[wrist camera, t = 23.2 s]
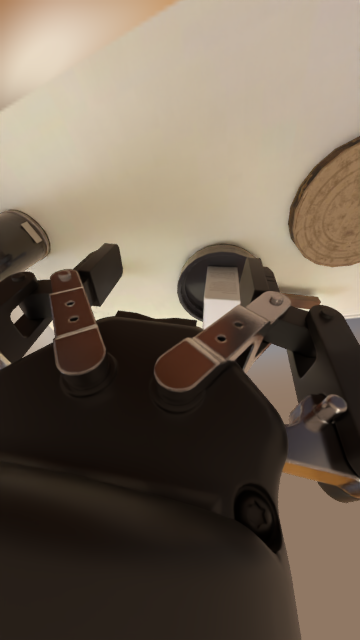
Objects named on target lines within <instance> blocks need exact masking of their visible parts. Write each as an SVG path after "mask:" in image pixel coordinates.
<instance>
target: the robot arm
mask: <svg viewBox="0 0 360 640" xmlns="http://www.w3.org/2000/svg"><path fill="white" fill-rule="evenodd" d="M49 250H50V245H49V241H48V238H47V236H46V234H45V232H44V231H43V229H42V228H41V227H40V226H39V224H38V223H37V222H35V221H34V220H33V219H32V218H31V217H29V216H28V215H26V214H24V213H22V212H19V211H16V210H7V211H4V212H2V213H0V640H301V634H300V628H299V622H298V615H297V609H296V602H295V596H294V590H293V583H292V577H291V571H290V566H289V561H288V556H287V551H286V547H285V543H284V538H283V534H282V529H281V525H280V519H279V512H278V490H279V482H280V477H281V473H282V472H283V473H287V474H291V475H295V476H299V477H303V478H307V479H310V480H314V481H317V482H318V484H319V485H320V486H321V488H322V489H323V490H324V491H325V492H326V493H327V494H328V495H329V496H330V497H332V498H334V499H335V500H337V501H339V502H344V503H348V502H353V501H358V500H360V345H359V343H358V342H357V340H356V338H355V336H354V335H353V333H352V331H351V329H350V327H349V326H348V324H347V322H346V320H345V319H344V317H343V315H342V314H341V313H339V312H338V311H337V310H335V309H333V308H331V307H328V306H323V305H315V306H312V307H311V308H310V310H309V312H308V311H305V310H301V309H298V308H295V307H293V306H291V304H292V303H291V300H290V299H289V297H287V296H286V295H284V294H282V293H280V291H279V288H278V285H277V282H276V280H275V277H274V274H273V272H272V271H271V270H270V269H269V268H268V267H263V266H262V263H261V259H260V258H252V257H247V258H246V261H245V265H244V269H243V272H242V276H241V280H240V285H239V293H240V302H241V305H240V304H239V305H237V306H236V307H234V308H233V309H231V310H230V311H229V312H227V313H226V314H225V315H223V316H222V317H221V318H219V319H218V320H217V321H215V322H214V323H212V324H211V325H210V326H208V327H207V328H206V329H202V328H200V327H197V326H196V323H197V320H189V319H181V318H168V319H153V318H150V317H147V316H144V315H141V314H138V313H133V312H125V311H118V312H117V314H116V315H115V316H112V317H106V318H102V319H99V320H95V317H94V315H93V312H92V309H91V306H99V307H100V306H101V305H102V304H103V302H104V301H105V299H106V298H107V296H108V295H109V293H110V292H111V291H112V289H113V288H114V286H115V285H116V283H117V282H118V281H119V279H120V278H121V276H122V272H123V267H122V262H121V256H120V250H119V247H118V245H117V244H108V243H105V244H103V245H102V246H101V247H100V248H99V249H98V250H96V251H94V252H92V253H90V254H89V255H88V256H87V257H86V258H85V259H84V260H82V261H81V262H80V263H79V264H78V265H77V266H76V267H75V268H74V269H64V270H60V271H57V272H55V273H53V274H52V275H51V277H50V280H37V279H36V277H35V275H34V274H33V273H32V272H24V271H25V270H26V269H28V268H29V267H31V266H32V265H34V264H35V263H36V262H38V261H39V260H41V259H43V258H45V257H46V256H47V255H48V253H49ZM18 305H19V307H20V308H21V310H22V311H23V313H24V314H23V315H22V316H21V317H20V318H19V319H18V320H17V321H16V323H15V324H13V322H12V321H11V318H10V315H11V312H12V311H13V309H15V308H16V306H18ZM52 320H53V326H54V333H55V338H54V339H53V343H51V344H49V345H47V346H45V347H43V348H41V349H39V350H37V351H35V352H33V353H31V354H29V355H27V356H25V357H24V358H22V357H23V356H24V355H25V353H26V352H27V351H28V350H29V349H30V347H31V346H32V345H33V344H34V342H35V341H36V340H37V338H38V337H39V336H40V335H41V334H42V332H43V331H44V330H45V329H46V327H47V326H48V325H49V324H50V322H51V321H52ZM271 343H272V344H274V345H277V346H280V347H282V348H285V349H287V353H288V358H289V363H290V367H291V372H292V376H293V381H294V385H295V390H296V395H297V399H298V405H297V406H296V407H295V408H294V409H293V410H292V411H291V413H290V416H289V424H284V423H283V421H282V419H281V417H280V415H279V413H278V412H277V410H276V409H275V408H274V406H273V405H272V404H271V403H270V402H269V401H268V399H267V398H266V397H265V396H264V395H263V393H262V392H261V391H260V390H259V389H258V388H257V386H256V385H255V384H254V383H253V382H252V380H251V379H250V378H249V377H248V376H247V375H246V373H247V372H248V370H249V369H250V367H251V366H252V364H253V363H254V362H255V361H256V360H257V359H258V358H259V356H260V355H261V354H262V353H263V352H264V351H265V350H266V349H267V348H268V347H269V346H270V345H271Z"/></svg>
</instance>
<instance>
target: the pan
mask: <svg viewBox="0 0 360 640" xmlns="http://www.w3.org/2000/svg"><path fill="white" fill-rule="evenodd" d="M247 257H252V258H256V257H255V256H253V255H252V254H251V253H249V252H248V251H247V250H245V249H243V248H240V247H237V246H234V245H224V244H220V245H214V246H209V247H206V248H204V249H202V250H200V251H198V252H197V253H195V254H194V255H193V256H191V257H190V258H189V259H188V261H187V262H186V263H185V265H184V266H183V269H182V271H181V274H180V277H179V281H178V290H177V293H178V297H179V300H180V303H181V304H182V306H183V308H184V309H185V310H186V311H187V312H188V313H189V314H190V315H191V316H193V317H194V318H196V319H198V320H200V321H202V322H203V314H204V293H205V284H206V276H207V268H208V266H216V267H237V269H238V278H239V285H240V280H241V276H242V272H243V269H244V265H245V261H246V258H247ZM240 305H241V304H240Z"/></svg>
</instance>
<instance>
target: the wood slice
mask: <svg viewBox="0 0 360 640" xmlns="http://www.w3.org/2000/svg"><path fill="white" fill-rule="evenodd" d="M288 225H289V230H290V235H291V239H292V240H293V242H294V243H295V245H296V246H297V248H298V249H299V250H300V252H301V253H302V255H303V256H304V257H305V258H307V259H308V260H310V261H312V262H314V263H315V264H318V265H324V266H329V267H338V266H349V265H353V264H356V263H359V262H360V136H359V137H358V138H356V139H354V140H352V141H350V142H348V143H346V144H344V145H342V146H340V147H339V148H337V149H335V150H334V151H333V152H331V153H330V154H329V155H328V156H327V157H326V158H324V159H323V160H322V161H321V162H320V163H319V164H317V165H316V166H315V167H314V168H313V170H312V171H311V172H310V174H309V175H308V176H307V178H306V179H305V180H304V182H303V183H302V184H301V185H300V187H299V189H298V191H297V193H296V196H295V198H294V200H293V202H292V205H291V208H290V215H289V222H288Z"/></svg>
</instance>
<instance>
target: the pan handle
mask: <svg viewBox="0 0 360 640" xmlns="http://www.w3.org/2000/svg"><path fill="white" fill-rule="evenodd" d="M282 294H284V295H286V296H287V297H289V299H290V300H291V303H292V304H291V306H293V307H296V308H304V309H310V308H311V307H312V306H315V305H319V304H320V303H321V301H320V300H319V298H318V297H314V296H304V295H295V294H286V293H282Z"/></svg>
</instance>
